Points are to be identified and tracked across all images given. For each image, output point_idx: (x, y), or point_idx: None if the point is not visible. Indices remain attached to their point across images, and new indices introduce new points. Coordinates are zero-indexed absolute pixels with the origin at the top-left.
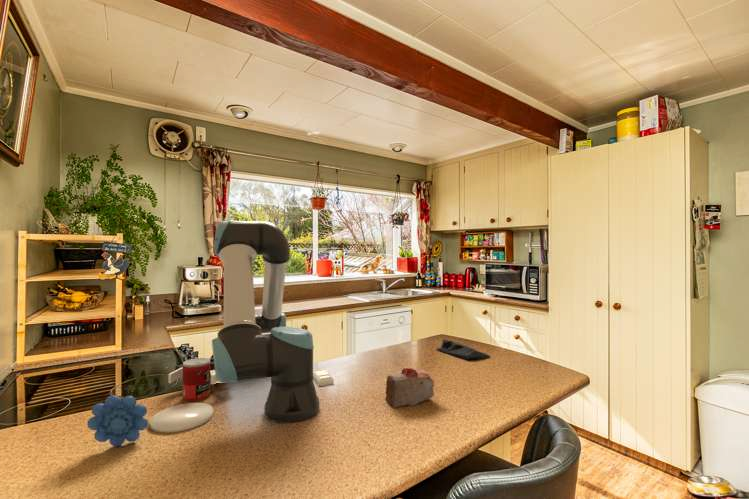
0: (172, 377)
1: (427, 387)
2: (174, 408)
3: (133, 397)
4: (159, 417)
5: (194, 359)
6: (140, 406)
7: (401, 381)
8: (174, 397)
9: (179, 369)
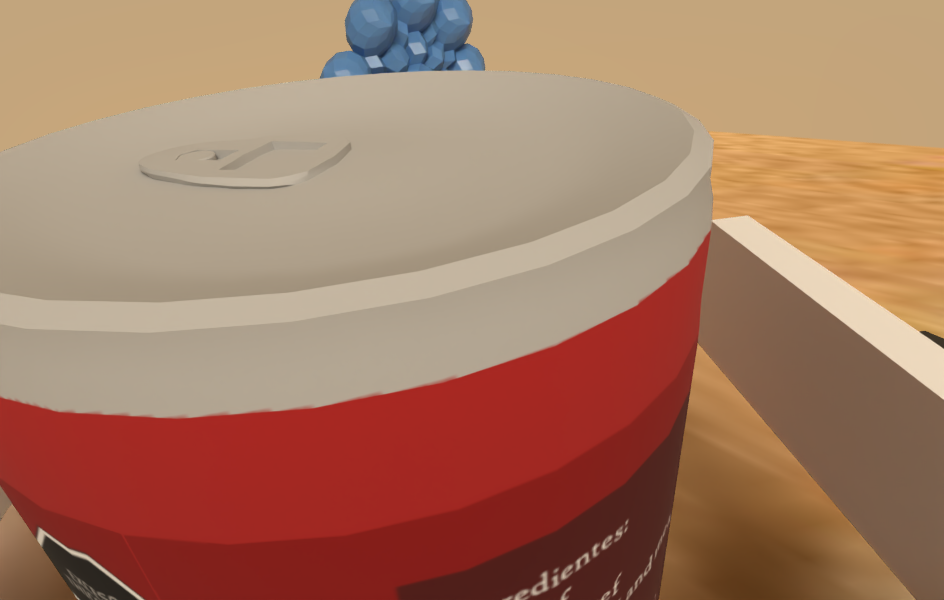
0: (722, 298)
1: None
2: None
3: (351, 5)
4: None
5: (589, 200)
6: (332, 58)
7: None
8: (712, 573)
9: (896, 354)
